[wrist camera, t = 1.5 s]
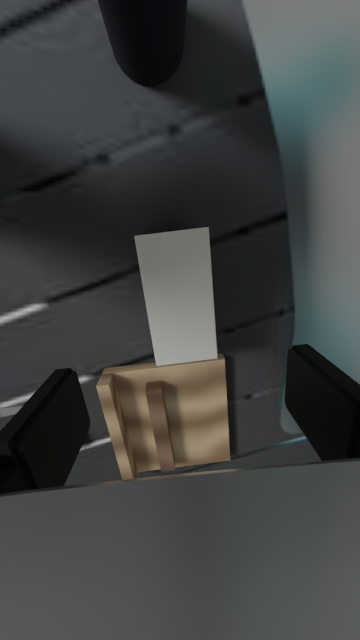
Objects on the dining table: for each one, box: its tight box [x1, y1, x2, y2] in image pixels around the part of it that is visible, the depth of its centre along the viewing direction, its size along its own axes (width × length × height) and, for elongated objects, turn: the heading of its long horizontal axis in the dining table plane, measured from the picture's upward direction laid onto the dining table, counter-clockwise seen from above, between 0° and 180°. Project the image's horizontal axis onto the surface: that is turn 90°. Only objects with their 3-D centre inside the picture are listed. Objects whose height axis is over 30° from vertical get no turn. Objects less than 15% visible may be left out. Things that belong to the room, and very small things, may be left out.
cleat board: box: [96, 354, 230, 480], centre depth 33 cm, size 18×16×4 cm
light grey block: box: [134, 227, 217, 366], centre depth 25 cm, size 13×6×8 cm, turn 7°
